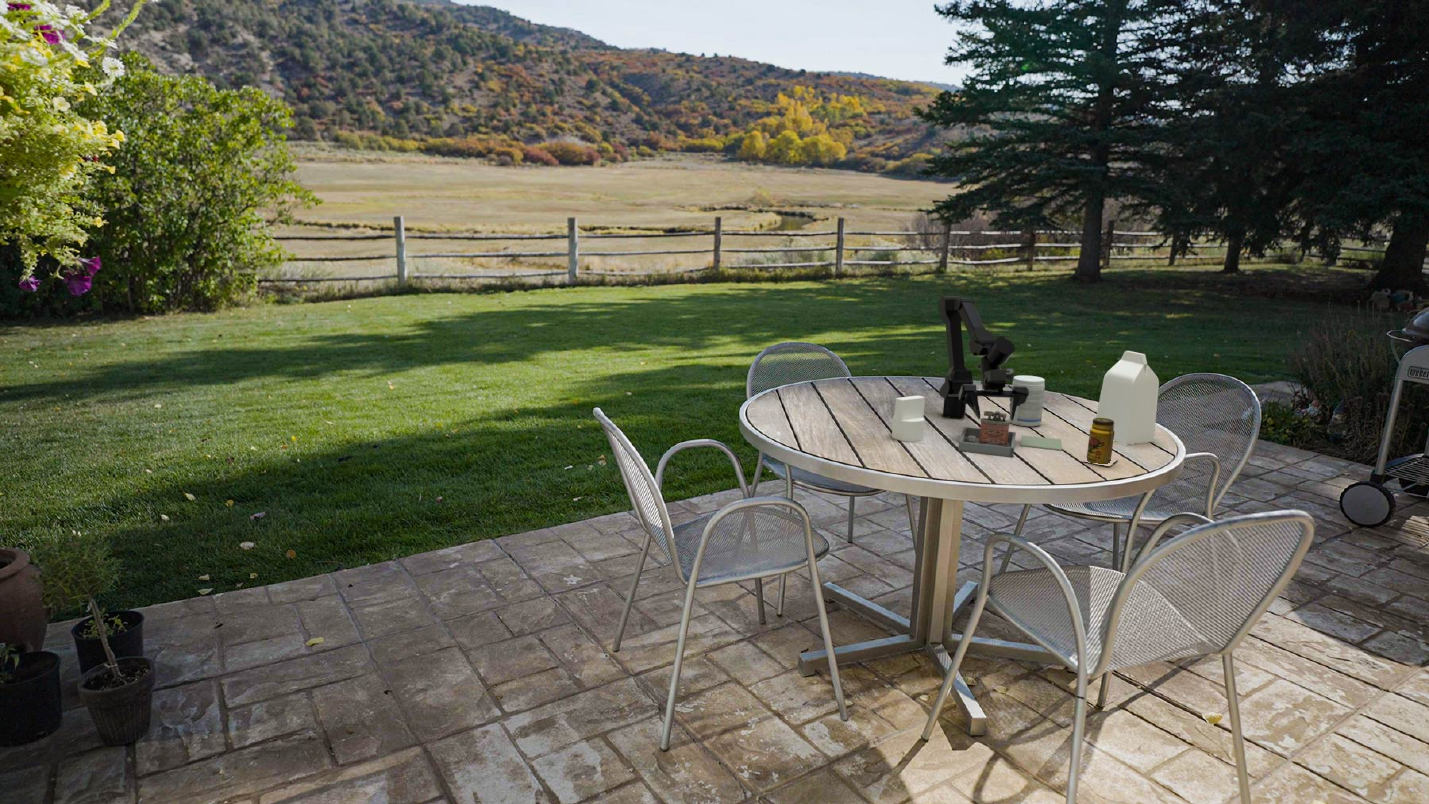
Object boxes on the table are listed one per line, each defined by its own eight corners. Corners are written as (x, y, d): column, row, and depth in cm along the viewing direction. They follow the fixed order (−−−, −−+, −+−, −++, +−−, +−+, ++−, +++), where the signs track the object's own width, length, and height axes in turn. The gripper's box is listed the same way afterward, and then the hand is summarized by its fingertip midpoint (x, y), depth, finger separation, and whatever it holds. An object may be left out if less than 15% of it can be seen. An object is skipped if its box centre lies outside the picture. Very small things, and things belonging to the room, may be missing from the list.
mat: (1020, 446, 242) (1020, 444, 242) (1021, 436, 252) (1021, 435, 252) (1061, 450, 238) (1061, 449, 238) (1061, 440, 248) (1061, 439, 248)
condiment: (1080, 462, 228) (1086, 419, 225) (1090, 455, 235) (1096, 414, 232) (1109, 468, 224) (1115, 424, 221) (1118, 461, 230) (1124, 418, 227)
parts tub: (958, 450, 236) (958, 442, 236) (963, 434, 252) (964, 426, 252) (1012, 457, 231) (1013, 448, 231) (1014, 440, 247) (1015, 432, 247)
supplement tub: (1047, 425, 266) (1052, 379, 262) (1028, 429, 260) (1033, 382, 257) (1021, 418, 273) (1026, 373, 270) (1002, 421, 268) (1006, 376, 265)
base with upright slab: (905, 443, 243) (908, 402, 240) (885, 435, 251) (888, 395, 248) (929, 439, 247) (932, 399, 244) (909, 431, 255) (912, 393, 252)
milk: (1092, 434, 256) (1103, 350, 250) (1120, 431, 260) (1132, 348, 254) (1125, 445, 245) (1138, 357, 239) (1153, 441, 250) (1166, 355, 243)
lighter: (1007, 445, 243) (1011, 411, 240) (1007, 448, 240) (1011, 414, 237) (978, 442, 245) (981, 408, 243) (978, 445, 242) (981, 411, 240)
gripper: (964, 356, 242) (968, 402, 234) (1030, 359, 241) (1037, 405, 233) (956, 378, 252) (960, 423, 244) (1021, 380, 250) (1026, 425, 242)
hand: (995, 419), depth 240 cm, fingers open, 9 cm apart
